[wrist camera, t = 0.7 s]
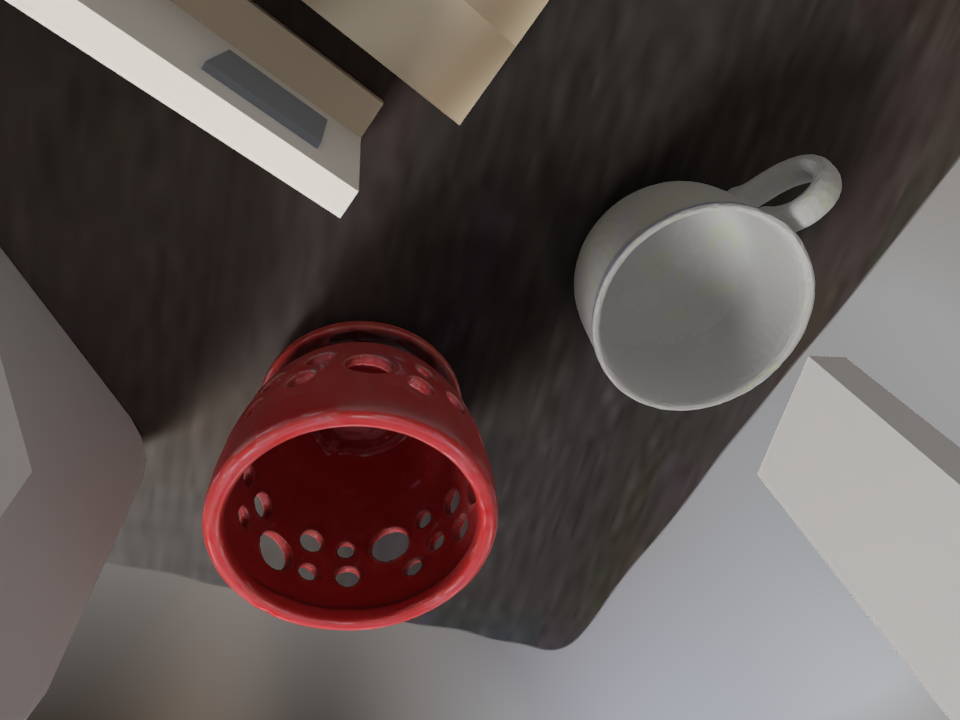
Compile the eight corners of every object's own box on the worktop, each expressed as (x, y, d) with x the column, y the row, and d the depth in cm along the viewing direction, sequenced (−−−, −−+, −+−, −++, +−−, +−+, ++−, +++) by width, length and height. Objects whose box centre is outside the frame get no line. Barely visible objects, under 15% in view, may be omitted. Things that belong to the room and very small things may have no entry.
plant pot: (506, 345, 38) (556, 477, 28) (406, 498, 43) (419, 658, 33) (297, 252, 34) (266, 370, 23) (212, 437, 38) (156, 601, 28)
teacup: (615, 370, 40) (666, 448, 34) (516, 247, 35) (551, 311, 28) (811, 230, 38) (909, 285, 31) (733, 74, 32) (831, 99, 26)
